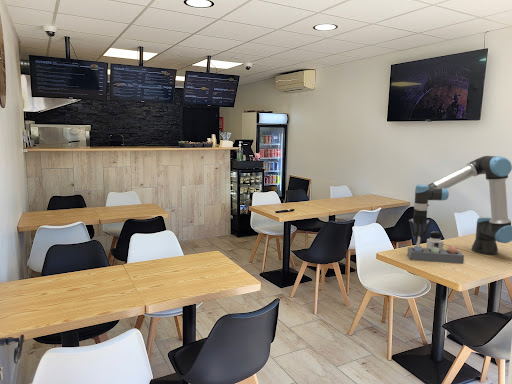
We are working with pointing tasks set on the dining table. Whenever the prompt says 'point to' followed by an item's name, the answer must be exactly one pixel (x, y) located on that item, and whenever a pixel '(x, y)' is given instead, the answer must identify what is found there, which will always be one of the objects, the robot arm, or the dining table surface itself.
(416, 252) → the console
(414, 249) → the slate button
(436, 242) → the container
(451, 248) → the terracotta button
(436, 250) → the sage button
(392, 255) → the dining table surface
